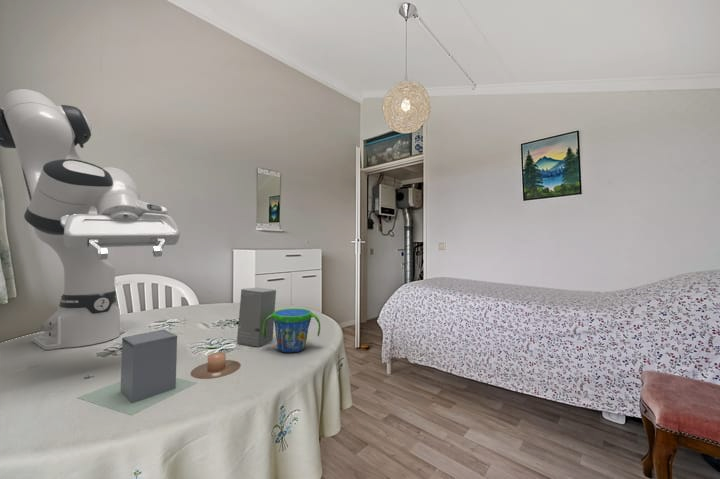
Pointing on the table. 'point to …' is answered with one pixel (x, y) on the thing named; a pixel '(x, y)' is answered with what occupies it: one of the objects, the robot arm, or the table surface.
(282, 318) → the snack cup
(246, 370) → the table surface
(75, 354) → the table surface
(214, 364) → the brown knobbed lid
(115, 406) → the mat
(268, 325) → the skincare box
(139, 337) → the gray box
